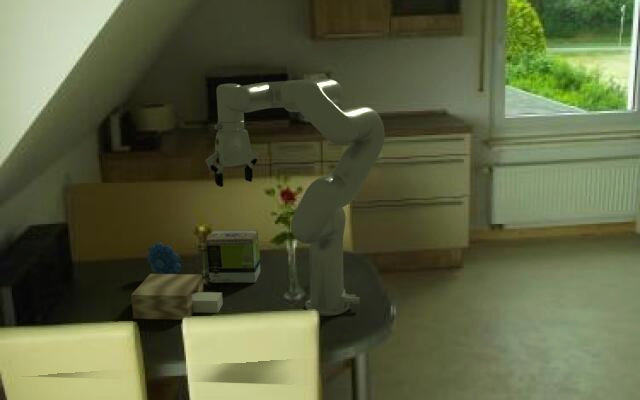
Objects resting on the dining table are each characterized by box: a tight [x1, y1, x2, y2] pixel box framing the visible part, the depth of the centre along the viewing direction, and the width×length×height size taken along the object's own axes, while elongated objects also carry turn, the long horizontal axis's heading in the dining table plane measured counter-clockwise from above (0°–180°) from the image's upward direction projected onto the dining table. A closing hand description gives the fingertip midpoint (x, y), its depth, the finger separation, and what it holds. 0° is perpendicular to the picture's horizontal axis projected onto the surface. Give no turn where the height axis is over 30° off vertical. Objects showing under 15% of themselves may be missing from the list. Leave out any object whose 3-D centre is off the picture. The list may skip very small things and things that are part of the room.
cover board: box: [192, 291, 223, 314], centre depth 204 cm, size 16×6×4 cm, turn 85°
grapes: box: [146, 242, 182, 274], centre depth 226 cm, size 12×7×12 cm, turn 76°
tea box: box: [205, 229, 261, 284], centre depth 225 cm, size 15×10×15 cm, turn 84°
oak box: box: [130, 273, 205, 320], centre depth 205 cm, size 16×16×7 cm
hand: (234, 183), depth 211 cm, fingers open, 9 cm apart
